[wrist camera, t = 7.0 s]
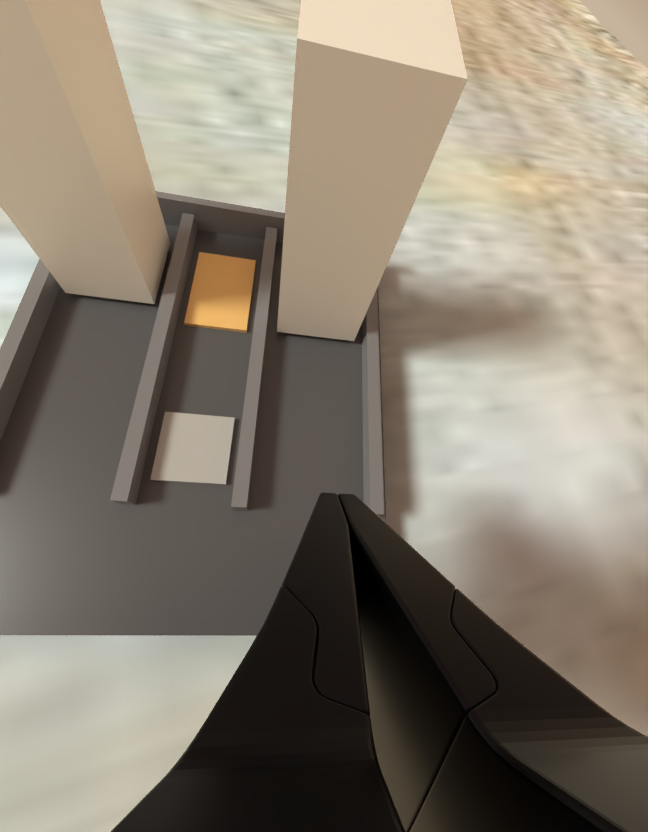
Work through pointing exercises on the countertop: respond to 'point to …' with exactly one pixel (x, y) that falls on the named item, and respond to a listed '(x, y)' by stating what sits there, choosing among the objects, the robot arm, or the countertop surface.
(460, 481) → the countertop surface
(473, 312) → the countertop surface
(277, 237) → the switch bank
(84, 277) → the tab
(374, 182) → the cream tall block
